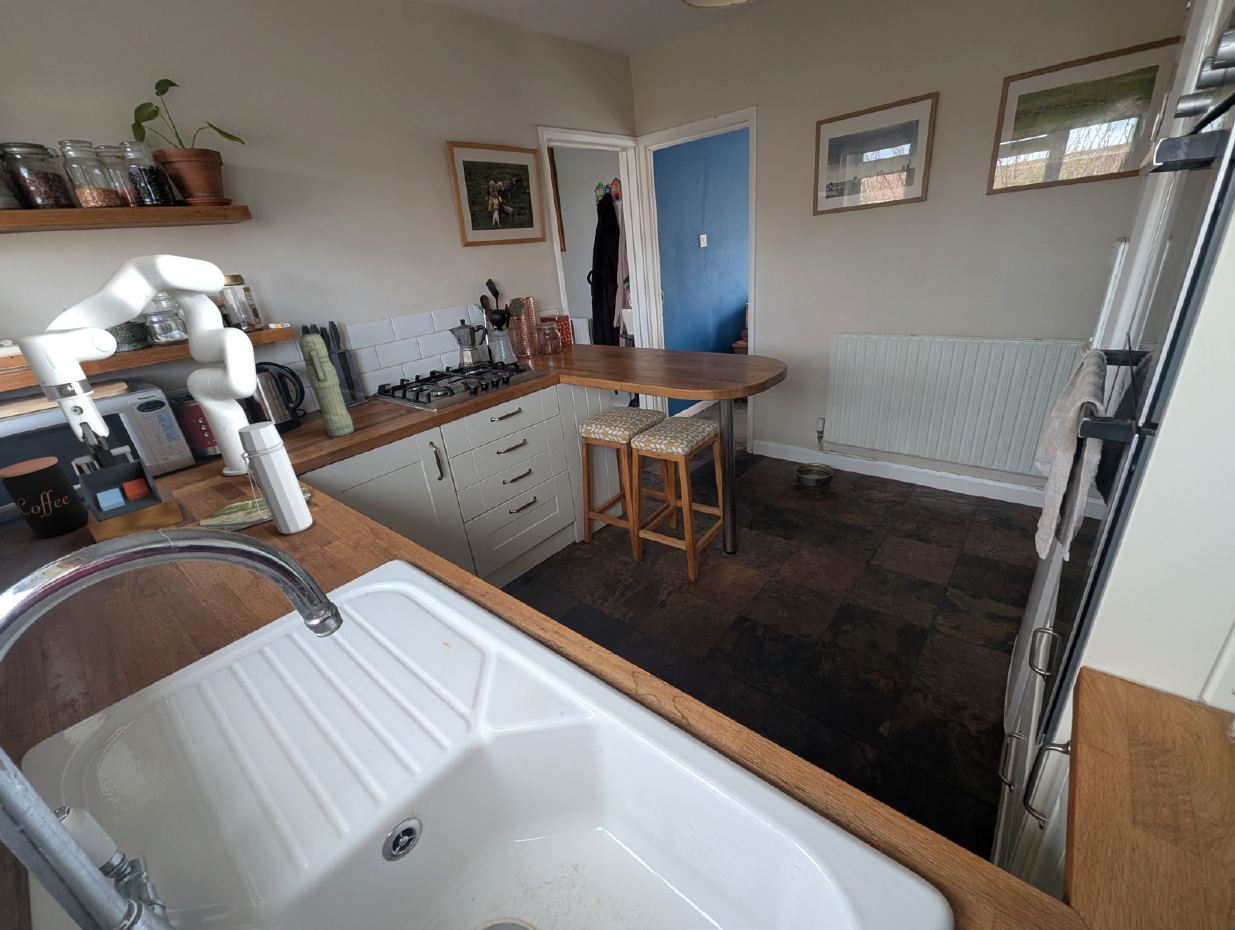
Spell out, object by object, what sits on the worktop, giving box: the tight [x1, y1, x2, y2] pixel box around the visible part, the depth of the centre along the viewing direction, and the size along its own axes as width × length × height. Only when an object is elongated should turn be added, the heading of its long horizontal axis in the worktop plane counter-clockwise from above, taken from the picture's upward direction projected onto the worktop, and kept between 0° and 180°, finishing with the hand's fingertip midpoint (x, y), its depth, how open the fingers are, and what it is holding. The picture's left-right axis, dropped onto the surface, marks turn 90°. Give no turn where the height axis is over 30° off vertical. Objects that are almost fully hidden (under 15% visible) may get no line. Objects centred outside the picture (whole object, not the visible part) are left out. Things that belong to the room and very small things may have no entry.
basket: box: [74, 444, 163, 522], centre depth 124 cm, size 12×12×11 cm
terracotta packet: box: [123, 478, 150, 500], centre depth 128 cm, size 4×5×2 cm
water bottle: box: [238, 421, 313, 535], centre depth 116 cm, size 9×8×25 cm
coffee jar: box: [0, 456, 89, 539], centre depth 132 cm, size 11×11×18 cm
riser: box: [86, 485, 184, 543], centre depth 131 cm, size 16×14×6 cm
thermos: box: [298, 332, 355, 438], centre depth 182 cm, size 9×12×35 cm
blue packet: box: [97, 488, 125, 511], centre depth 125 cm, size 4×5×2 cm
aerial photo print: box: [198, 485, 312, 532], centre depth 131 cm, size 25×19×2 cm
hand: (108, 465), depth 124 cm, fingers closed on basket
